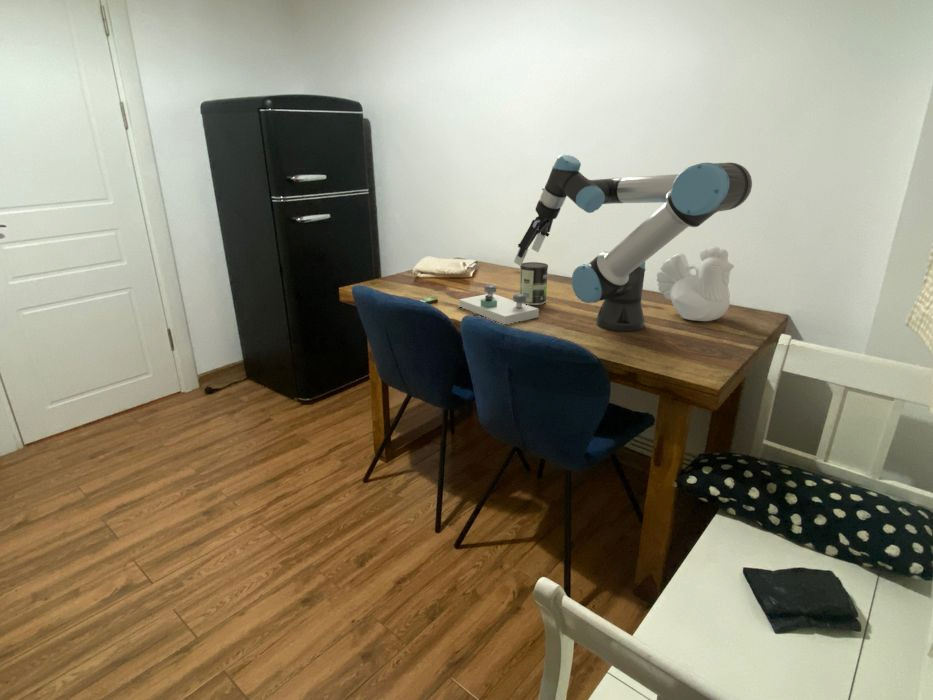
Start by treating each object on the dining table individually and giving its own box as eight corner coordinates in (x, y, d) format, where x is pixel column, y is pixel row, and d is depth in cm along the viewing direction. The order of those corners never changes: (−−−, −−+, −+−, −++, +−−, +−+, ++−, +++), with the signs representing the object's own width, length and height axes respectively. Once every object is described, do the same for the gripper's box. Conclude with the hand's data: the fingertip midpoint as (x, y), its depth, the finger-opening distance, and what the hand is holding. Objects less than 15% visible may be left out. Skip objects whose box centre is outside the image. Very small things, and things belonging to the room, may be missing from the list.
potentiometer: (496, 306, 189) (497, 296, 188) (487, 308, 187) (487, 297, 186) (489, 303, 192) (489, 293, 191) (480, 305, 190) (480, 295, 189)
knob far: (498, 299, 199) (498, 286, 198) (489, 301, 197) (489, 288, 195) (491, 296, 203) (491, 284, 201) (481, 298, 200) (481, 286, 198)
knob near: (528, 309, 187) (528, 295, 185) (518, 311, 185) (518, 297, 183) (519, 306, 190) (520, 293, 189) (510, 308, 188) (510, 295, 186)
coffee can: (547, 298, 210) (548, 262, 205) (545, 306, 200) (547, 268, 195) (520, 297, 212) (521, 261, 207) (517, 304, 202) (518, 267, 197)
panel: (538, 317, 187) (538, 308, 186) (504, 325, 179) (505, 316, 178) (491, 300, 207) (491, 293, 206) (459, 307, 199) (459, 299, 197)
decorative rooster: (736, 321, 182) (749, 247, 173) (706, 329, 174) (718, 252, 166) (674, 304, 202) (684, 236, 193) (645, 310, 194) (653, 240, 186)
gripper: (556, 187, 184) (532, 239, 198) (523, 208, 166) (500, 263, 180) (575, 198, 182) (550, 250, 196) (543, 220, 164) (519, 275, 178)
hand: (526, 256), depth 188 cm, fingers open, 13 cm apart
